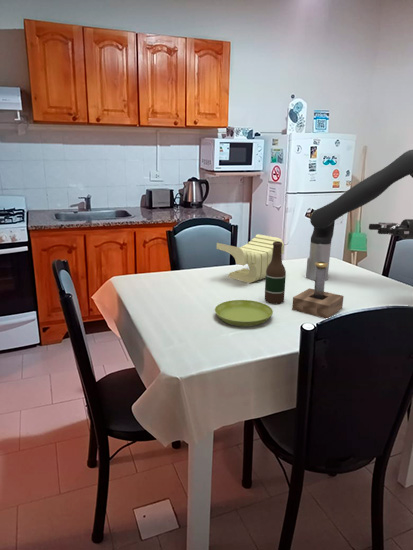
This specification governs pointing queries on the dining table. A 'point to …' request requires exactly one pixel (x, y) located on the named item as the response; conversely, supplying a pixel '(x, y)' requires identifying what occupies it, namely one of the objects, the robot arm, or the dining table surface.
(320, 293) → the steel pin
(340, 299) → the block
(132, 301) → the dining table surface
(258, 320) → the saucer
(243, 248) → the slatted curved stool
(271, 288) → the beer bottle
